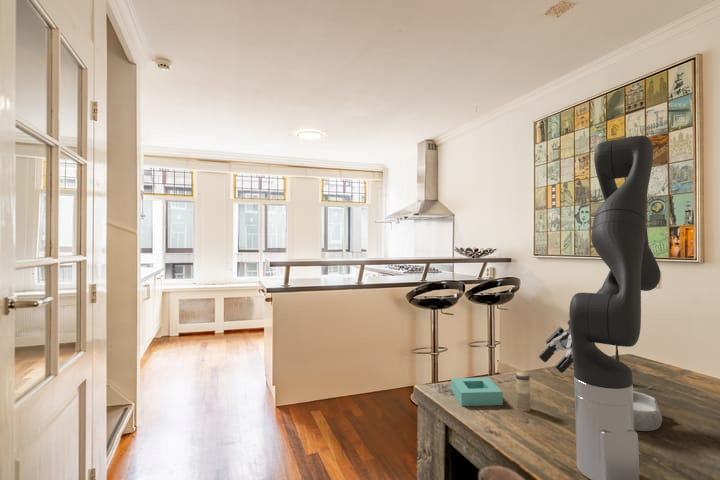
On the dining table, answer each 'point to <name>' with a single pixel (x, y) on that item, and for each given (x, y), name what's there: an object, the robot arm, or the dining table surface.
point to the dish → (646, 412)
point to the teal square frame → (476, 391)
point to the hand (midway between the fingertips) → (549, 364)
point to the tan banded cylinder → (523, 391)
